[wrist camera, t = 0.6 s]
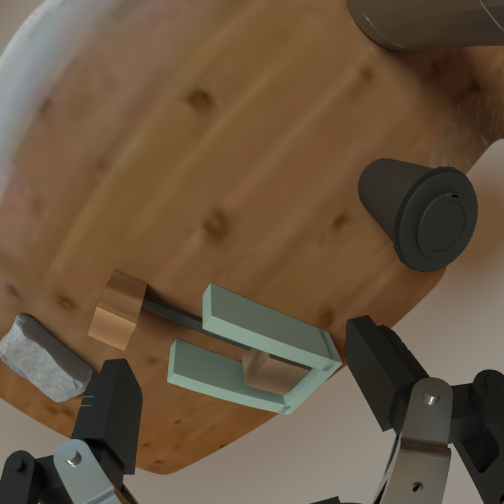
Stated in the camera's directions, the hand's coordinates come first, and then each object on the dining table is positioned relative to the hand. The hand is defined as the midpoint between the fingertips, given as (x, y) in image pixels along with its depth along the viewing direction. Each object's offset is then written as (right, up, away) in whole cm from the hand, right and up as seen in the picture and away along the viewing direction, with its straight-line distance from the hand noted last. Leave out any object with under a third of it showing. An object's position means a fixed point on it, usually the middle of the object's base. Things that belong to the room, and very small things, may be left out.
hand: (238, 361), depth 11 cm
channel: (0, -6, +23) cm, 24 cm away
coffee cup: (+13, +10, +17) cm, 23 cm away
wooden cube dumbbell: (-4, -4, +21) cm, 22 cm away
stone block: (-26, -9, +22) cm, 35 cm away
